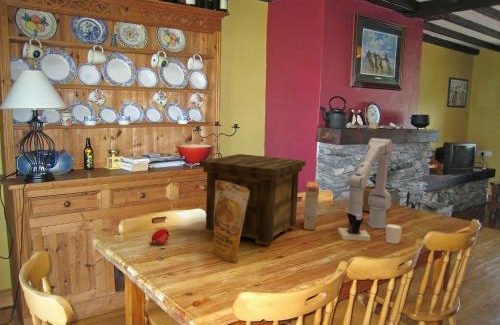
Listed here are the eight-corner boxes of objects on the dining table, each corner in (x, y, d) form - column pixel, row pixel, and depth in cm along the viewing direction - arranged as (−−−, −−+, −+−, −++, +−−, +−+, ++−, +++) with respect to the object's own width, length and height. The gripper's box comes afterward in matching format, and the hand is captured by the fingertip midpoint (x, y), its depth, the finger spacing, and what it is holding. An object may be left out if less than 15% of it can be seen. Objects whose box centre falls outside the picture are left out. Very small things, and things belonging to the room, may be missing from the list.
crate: (301, 228, 190) (305, 160, 186) (270, 250, 159) (274, 169, 155) (237, 217, 206) (239, 154, 202) (198, 234, 176) (199, 161, 171)
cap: (170, 232, 167) (157, 225, 166) (172, 231, 162) (159, 224, 161) (160, 249, 165) (147, 242, 163) (162, 249, 159) (149, 242, 158)
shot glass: (390, 244, 172) (391, 228, 171) (381, 239, 179) (382, 224, 178) (404, 243, 174) (405, 228, 173) (394, 238, 181) (395, 223, 180)
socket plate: (337, 231, 187) (338, 226, 187) (363, 233, 187) (364, 227, 187) (342, 239, 177) (343, 233, 176) (370, 240, 176) (370, 235, 176)
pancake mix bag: (220, 246, 162) (222, 178, 158) (249, 262, 147) (251, 187, 143) (205, 249, 158) (207, 179, 154) (234, 265, 143) (236, 188, 139)
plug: (348, 234, 184) (349, 224, 183) (356, 235, 184) (357, 224, 183) (350, 237, 180) (351, 226, 179) (359, 238, 180) (359, 227, 179)
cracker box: (315, 230, 188) (318, 187, 185) (302, 229, 189) (305, 186, 186) (317, 222, 201) (319, 181, 198) (304, 221, 203) (307, 180, 200)
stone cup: (354, 211, 227) (356, 185, 225) (364, 207, 236) (366, 182, 234) (380, 216, 218) (382, 189, 216) (389, 213, 226) (391, 186, 224)
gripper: (343, 197, 187) (341, 225, 189) (350, 205, 173) (348, 235, 174) (359, 198, 187) (356, 226, 189) (367, 206, 172) (364, 236, 174)
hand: (353, 231), depth 182 cm, fingers open, 5 cm apart
